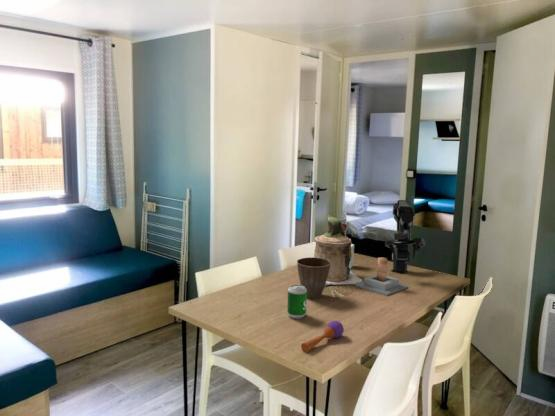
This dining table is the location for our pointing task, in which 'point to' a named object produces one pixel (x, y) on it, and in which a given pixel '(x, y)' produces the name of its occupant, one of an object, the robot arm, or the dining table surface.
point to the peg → (382, 269)
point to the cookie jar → (336, 253)
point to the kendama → (325, 335)
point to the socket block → (381, 285)
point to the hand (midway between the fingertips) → (404, 259)
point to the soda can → (297, 301)
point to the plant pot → (313, 275)
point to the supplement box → (352, 256)
